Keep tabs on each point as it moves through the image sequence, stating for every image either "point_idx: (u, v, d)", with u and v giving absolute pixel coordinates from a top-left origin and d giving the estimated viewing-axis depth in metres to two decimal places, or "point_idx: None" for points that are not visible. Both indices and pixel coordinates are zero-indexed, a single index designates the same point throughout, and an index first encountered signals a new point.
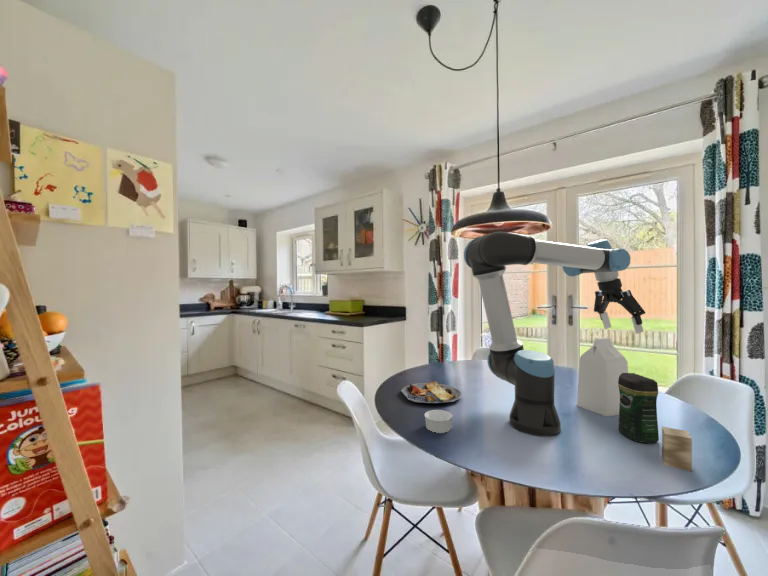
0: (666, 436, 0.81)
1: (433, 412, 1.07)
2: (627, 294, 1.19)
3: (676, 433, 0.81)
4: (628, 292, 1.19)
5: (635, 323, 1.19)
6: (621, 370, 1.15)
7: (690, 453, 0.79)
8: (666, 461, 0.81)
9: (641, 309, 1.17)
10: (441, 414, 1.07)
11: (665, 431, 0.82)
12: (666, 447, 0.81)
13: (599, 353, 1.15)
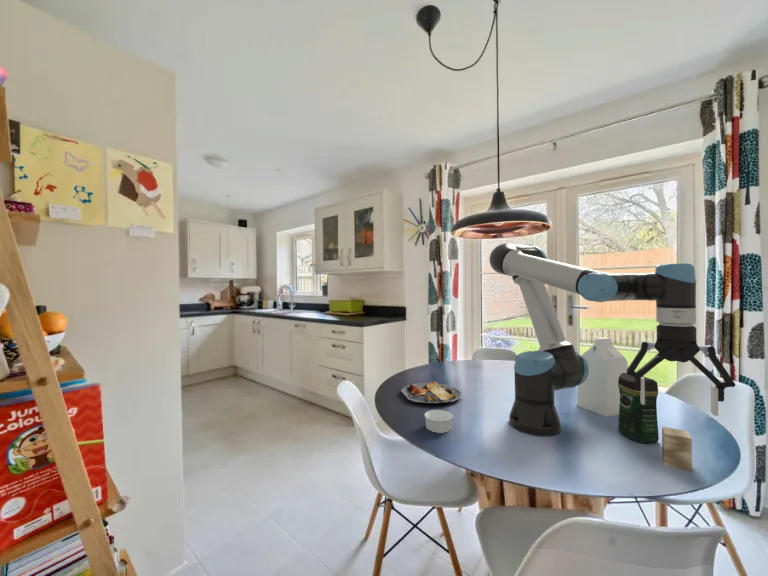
0: (666, 436, 0.81)
1: (433, 412, 1.07)
2: (641, 345, 0.86)
3: (676, 433, 0.81)
4: (641, 343, 0.86)
5: None
6: (621, 370, 1.15)
7: (690, 453, 0.79)
8: (666, 461, 0.81)
9: (629, 367, 0.87)
10: (441, 414, 1.07)
11: (665, 431, 0.82)
12: (666, 447, 0.81)
13: (599, 353, 1.15)
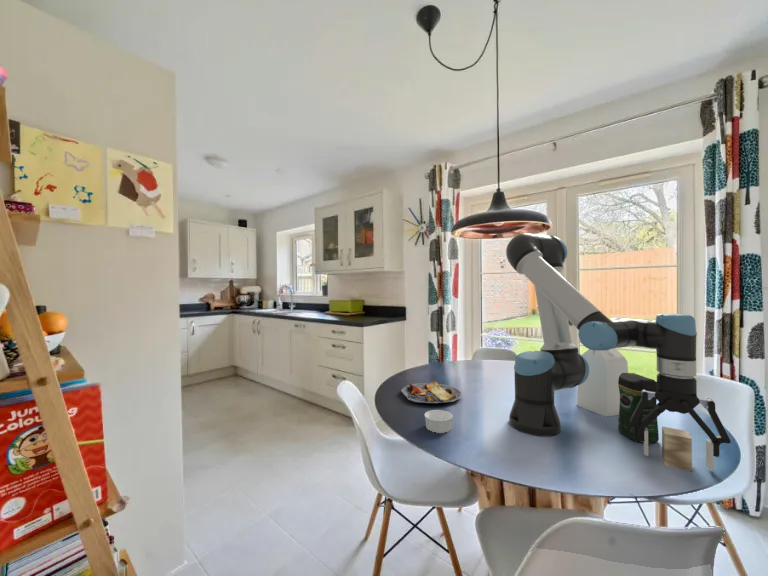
0: (666, 436, 0.81)
1: (433, 412, 1.07)
2: (641, 394, 0.86)
3: (676, 433, 0.81)
4: (641, 393, 0.86)
5: None
6: (621, 370, 1.15)
7: (690, 453, 0.79)
8: (666, 461, 0.81)
9: (632, 417, 0.87)
10: (441, 414, 1.07)
11: (665, 431, 0.82)
12: (666, 447, 0.81)
13: (599, 353, 1.15)
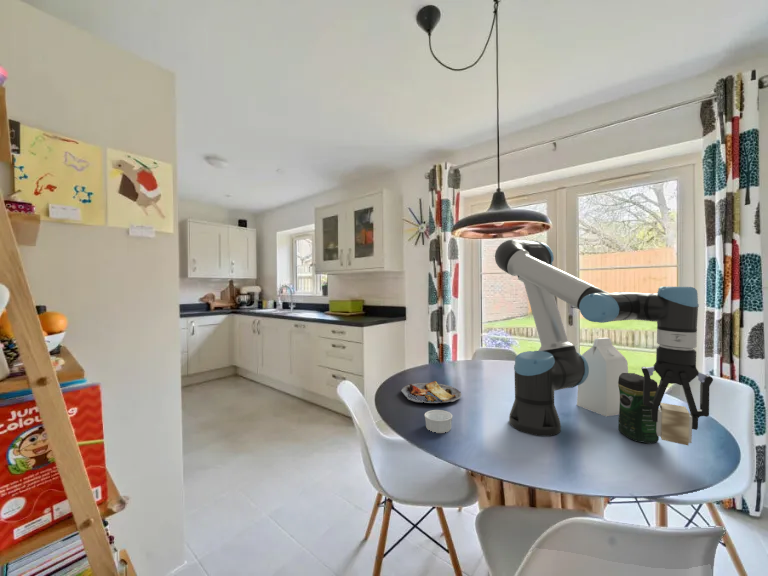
0: (664, 411, 0.81)
1: (433, 412, 1.07)
2: None
3: (674, 408, 0.82)
4: (642, 370, 0.86)
5: None
6: (621, 370, 1.15)
7: (687, 427, 0.79)
8: (663, 436, 0.82)
9: (643, 398, 0.85)
10: (441, 414, 1.07)
11: (663, 406, 0.83)
12: (663, 422, 0.82)
13: (599, 353, 1.15)
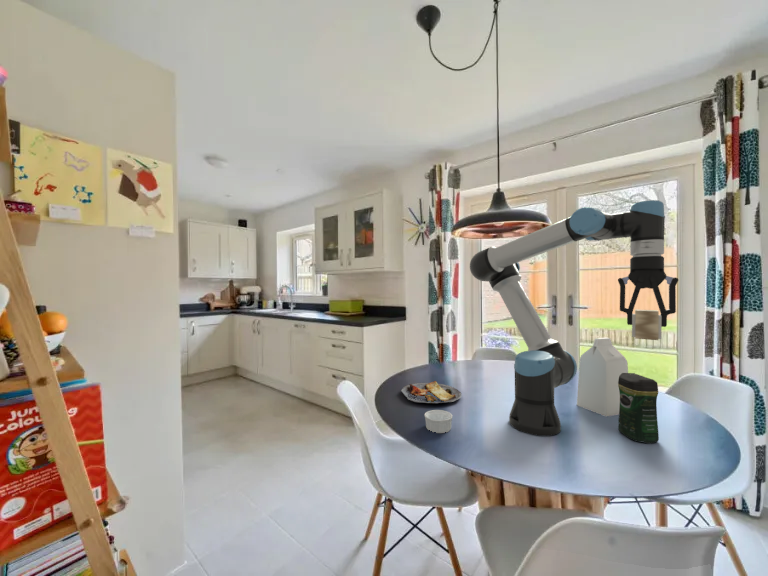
0: (637, 312, 0.92)
1: (433, 412, 1.07)
2: None
3: (646, 310, 0.92)
4: (618, 281, 0.96)
5: None
6: (621, 370, 1.15)
7: (657, 324, 0.89)
8: (636, 335, 0.92)
9: None
10: (441, 414, 1.07)
11: (636, 310, 0.93)
12: (637, 322, 0.92)
13: (599, 353, 1.15)
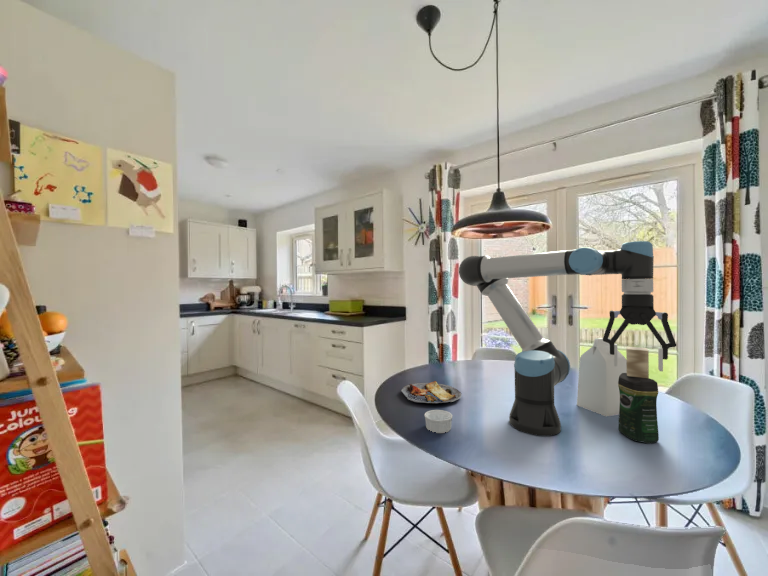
0: (628, 351, 0.96)
1: (433, 412, 1.07)
2: None
3: (637, 349, 0.96)
4: None
5: None
6: (621, 370, 1.15)
7: (647, 363, 0.93)
8: (628, 372, 0.96)
9: None
10: (441, 414, 1.07)
11: (628, 348, 0.97)
12: (628, 360, 0.96)
13: (599, 353, 1.15)
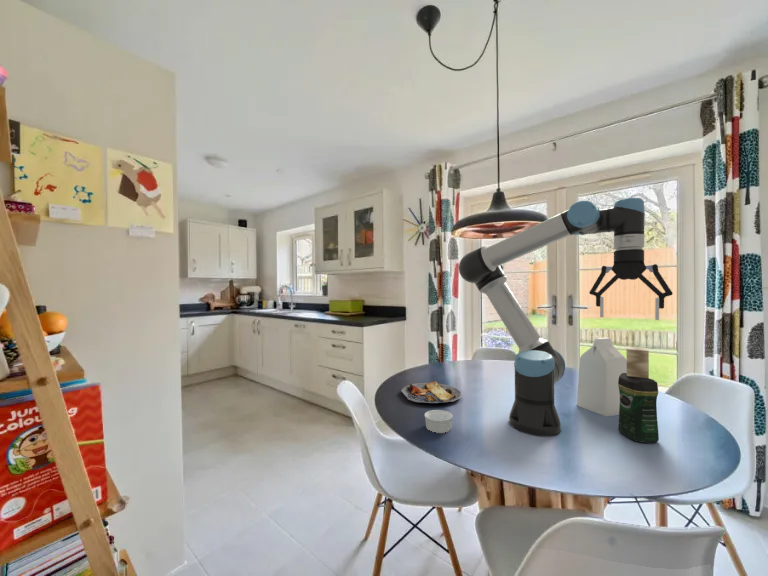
0: (628, 351, 0.96)
1: (433, 412, 1.07)
2: None
3: (637, 349, 0.96)
4: None
5: None
6: (621, 370, 1.15)
7: (647, 363, 0.93)
8: (628, 372, 0.96)
9: None
10: (441, 414, 1.07)
11: (628, 348, 0.97)
12: (628, 360, 0.96)
13: (599, 353, 1.15)
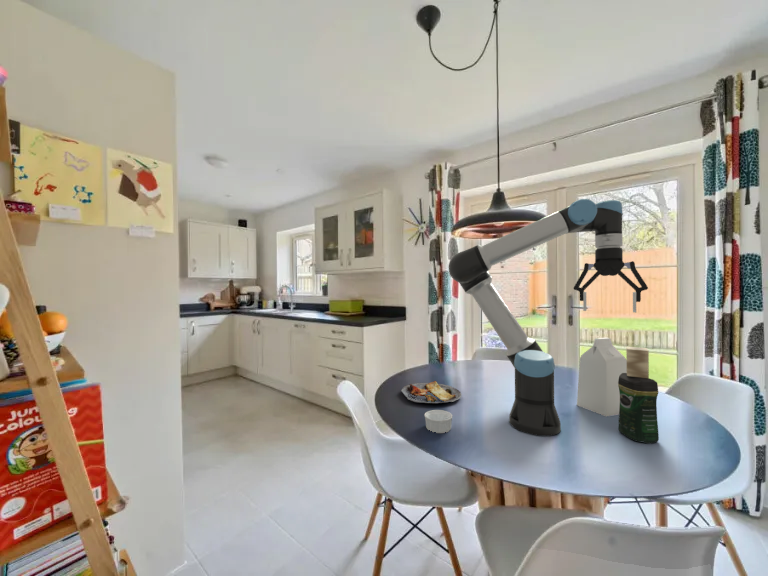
0: (628, 351, 0.96)
1: (433, 412, 1.07)
2: None
3: (637, 349, 0.96)
4: (584, 265, 1.12)
5: None
6: (621, 370, 1.15)
7: (647, 363, 0.93)
8: (628, 372, 0.96)
9: (575, 284, 1.13)
10: (441, 414, 1.07)
11: (628, 348, 0.97)
12: (628, 360, 0.96)
13: (599, 353, 1.15)
